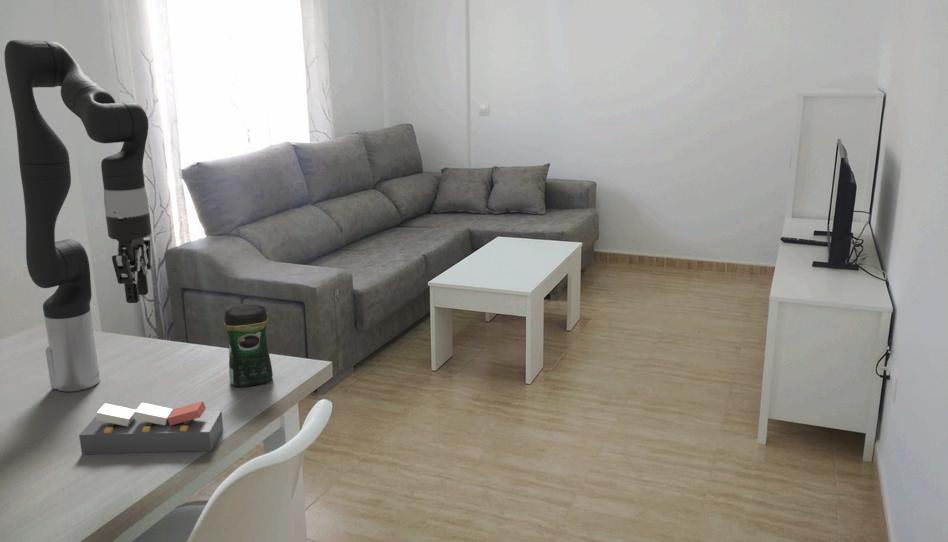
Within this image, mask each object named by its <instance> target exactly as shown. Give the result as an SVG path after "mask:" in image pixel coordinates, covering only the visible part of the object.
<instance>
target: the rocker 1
mask: <svg viewBox="0 0 948 542" xmlns="http://www.w3.org/2000/svg"><path fill="white" fill-rule="evenodd" d="M135 410H136V409H134V408H130V407H125V406H121V405H115V404H110V403H106V402H104V404H103V405H102V406H101V407H100V408H99V409H98V411H96V415H95V417H96V420H99V421H103V422H108V423H113V424H118V425H123V426H129V424H130V423H131V422H132V421H133V418H134V412H135Z"/></svg>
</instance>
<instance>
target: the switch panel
mask: <svg viewBox="0 0 948 542" xmlns="http://www.w3.org/2000/svg"><path fill="white" fill-rule="evenodd" d="M222 413H223V411H222V410H204V412H203V414H202V415H201V417H200V418H196V419H193V420H189V421H185V422H182V423H178V424H174V425H170V424H169V422H167V424H166V425H165V426H164V425H160V424H155V423H150V422H145V421H140V420H136V419H133V421H132V422H131V423H130V424H129V426H123V425H118V424H113V423H108V422H103V421H99V420H96V416H95V417H94V418H93V419H91V421H90V422H89V423H88V425H87V426H86V427H85V428H84V429H83V430H82V431H81V432H80V433H79V435H78V436H79V443H80V449H81V455H99V454H104V455H105V454H134V453H135V454H137V453H138V454H139V453H143V454H144V453H146V454H147V453H148V454H149V453H176V452H177V453H179V452H180V453H182V452H183V453H185V452H186V453H187V452H212V450H213V449H214V447H215V445H216V443H217V441H218V440H219V437H220V435H221V434H222V432H223V431H224V426H223V425H224V424H223V414H222Z"/></svg>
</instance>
